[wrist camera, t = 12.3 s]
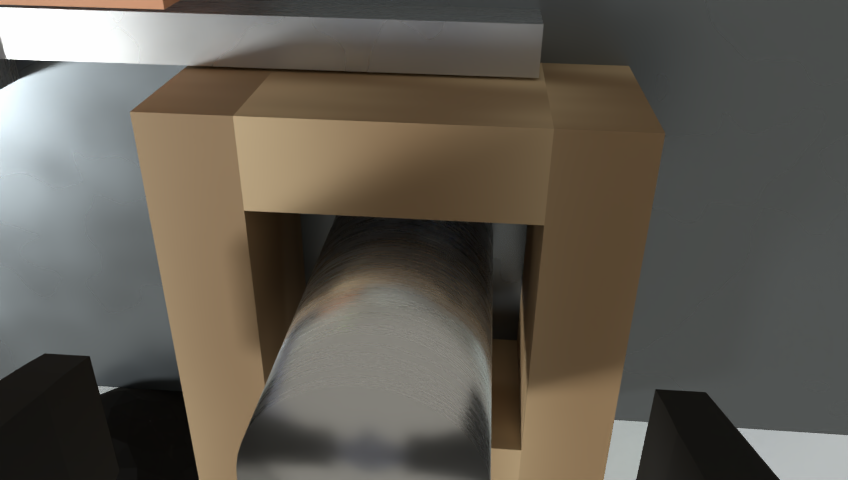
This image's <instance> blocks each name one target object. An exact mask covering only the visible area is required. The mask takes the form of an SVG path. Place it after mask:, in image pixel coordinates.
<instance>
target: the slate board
mask: <svg viewBox="0 0 848 480" xmlns="http://www.w3.org/2000/svg"><path fill="white" fill-rule="evenodd" d="M540 63H560V64H589V65H618V66H629V67H630V69H631V71H632V72H633V74H634V76H635V78H636V80H637V82H638V84H639V85H640V87H641V89H642V91H643V93H644V95H645V97H646V98H647V100H648V102H649V104H650V106H651V108H652V110H653V111H654V113H655V115H656V117H657V119H658V121H659V123H660V124H661V126H662V128H663V130H664V132H665V138H664V144H663V149H662V155H661V161H660V166H659V172H658V177H657V183H656V189H655V194H654V200H653V205H652V211H651V217H650V222H649V228H648V233H647V239H646V244H645V250H644V256H643V261H642V267H641V272H640V278H639V284H638V289H637V295H636V300H635V306H634V312H633V317H632V323H631V328H630V334H629V340H628V345H627V351H626V356H625V362H624V367H623V373H622V379H621V384H620V390H619V395H618V401H617V407H616V412H615V418H614V420H626V421H642V422H649V417H650V412H651V408H652V403H653V398H654V393H655V389H662V390H679V391H696V392H706V393H707V394H708V395H709V396H710V397H711V399H712V400H713V401H714V402H715V403H716V404H717V406H718V407H719V408H720V409H721V410H722V411H723V413H724V414H725V415H726V416H727V417H728V419H729V420H730V421H731V422H732V423H733V425H734V426H735V427H736V428H748V429H764V430H779V431H794V432H809V433H824V434H840V435H848V0H180V1H178V2H176V3H175V4H173V5H171V6H169V7H168V8H166V9H131V8H99V7H66V6H34V5H1V4H0V379H3V378H4V377H6V376H7V375H9V374H11V373H12V372H14V371H15V370H17V369H19V368H20V367H22V366H24V365H25V364H27V363H29V362H30V361H32V360H34V359H36V358H37V357H39V356H41V355H43V354H44V353H47V354H64V355H81V356H90V359H91V363H92V366H93V370H94V374H95V378H96V382H97V386H108V387H123V388H139V389H154V390H169V391H182V386H181V381H180V376H179V370H178V365H177V360H176V354H175V349H174V344H173V339H172V333H171V328H170V323H169V317H168V312H167V307H166V301H165V296H164V291H163V285H162V280H161V275H160V270H159V264H158V259H157V254H156V248H155V243H154V238H153V232H152V227H151V222H150V217H149V211H148V206H147V201H146V195H145V190H144V185H143V179H142V174H141V169H140V164H139V158H138V153H137V148H136V142H135V137H134V132H133V126H132V121H131V116H130V111H131V110H133V109H134V108H135V107H136V106H138V105H139V104H140V103H141V102H143V101H144V100H145V99H146V98H148V97H149V96H150V95H151V94H153V93H154V92H155V91H156V90H158V89H159V88H160V87H161V86H163V85H164V84H165V83H166V82H168V81H169V80H170V79H171V78H173V77H174V76H175V75H176V74H178V73H179V72H180V71H181V70H183V69H184V68H185V67H186V66H216V67H244V68H272V69H300V70H328V71H356V72H383V73H411V74H439V75H467V76H495V77H523V78H539V70H540ZM335 217H336V215H322V214H302V213H300V219H301V232H302V245H303V258H304V270H305V283H306V286H307V284H308V281H309V279H310V277H311V274H312V272H313V269H314V267H315V265H316V262H317V260H318V257H319V255H320V253H321V250H322V248H323V245H324V243H325V241H326V238H327V236H328V233H329V231H330V229H331V226H332V224H333V221H334V219H335ZM490 224H491V227H492V233H493V307H492V339H501V340H517V334H518V323H519V312H520V301H521V289H522V278H523V267H524V256H525V244H526V233H527V224H507V223H490Z"/></svg>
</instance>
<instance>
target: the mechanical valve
mask: <svg viewBox="0 0 848 480" xmlns="http://www.w3.org/2000/svg"><path fill="white" fill-rule="evenodd" d="M100 397H101V401H102V405H103V409H104V413H105V417H106V420H107V424H108V428H109V432H110V436H111V440H112V444H113V447H114V451H115V455H116V459H117V463H118V467H119V473H118V476H117V479H116V480H199V476H198V471H197V466H196V460H195V455H194V450H193V445H192V439H191V434H190V429H189V423H188V418H187V413H186V407H185V402H184V397H183V392H182V391H169V390H154V389H139V388H123V387H119V388H116V389H113V390H111V391H108V392H106V393H103V394H100Z"/></svg>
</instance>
